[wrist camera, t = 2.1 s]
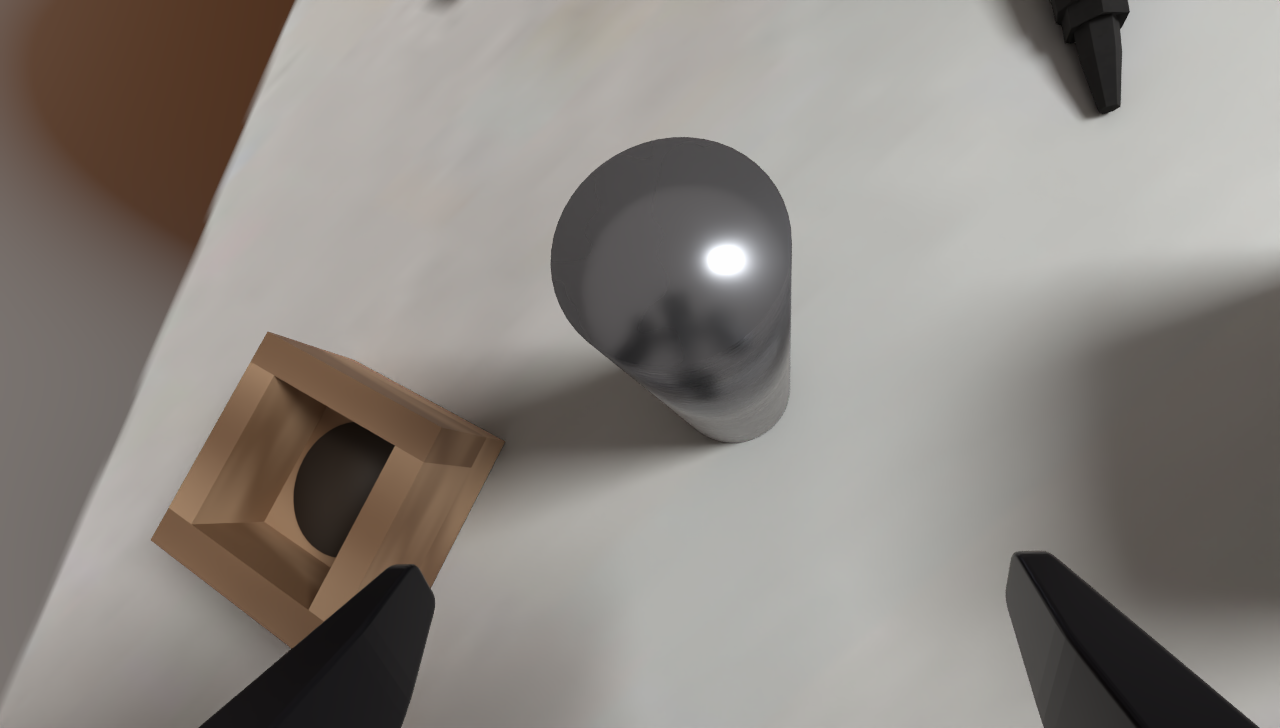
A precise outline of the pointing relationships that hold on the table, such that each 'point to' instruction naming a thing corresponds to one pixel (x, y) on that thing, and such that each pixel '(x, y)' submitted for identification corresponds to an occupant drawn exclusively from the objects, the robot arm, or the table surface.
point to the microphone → (1096, 43)
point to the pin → (684, 280)
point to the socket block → (321, 487)
